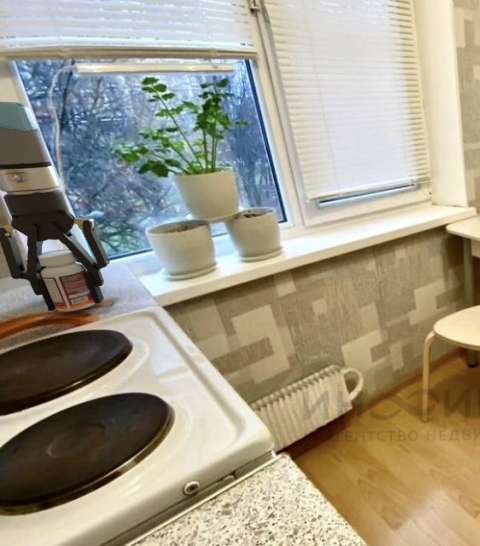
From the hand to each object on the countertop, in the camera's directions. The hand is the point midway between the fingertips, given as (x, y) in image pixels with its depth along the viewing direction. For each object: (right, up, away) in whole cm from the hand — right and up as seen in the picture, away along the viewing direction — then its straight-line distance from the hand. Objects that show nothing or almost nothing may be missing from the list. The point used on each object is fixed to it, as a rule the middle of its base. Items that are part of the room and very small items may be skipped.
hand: (77, 304), depth 85 cm
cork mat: (0, -2, +1) cm, 2 cm away
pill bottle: (0, -1, 0) cm, 1 cm away
